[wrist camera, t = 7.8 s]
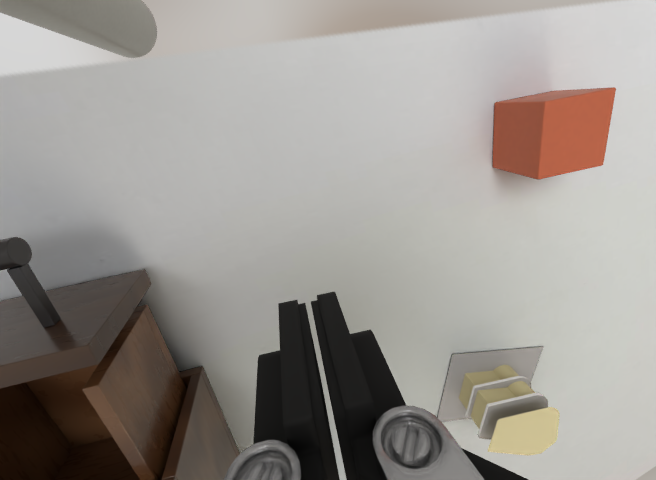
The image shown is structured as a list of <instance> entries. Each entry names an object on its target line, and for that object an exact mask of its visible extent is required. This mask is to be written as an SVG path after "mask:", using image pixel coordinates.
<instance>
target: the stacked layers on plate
mask: <svg viewBox="0 0 656 480" xmlns="http://www.w3.org/2000/svg"><path fill="white" fill-rule="evenodd" d="M542 350H543V347H533V348H521V349H510V350H498V351H486V352H475V353H463V354H452V358H451V362H450V366H449V370H448V375H447V379H446V383H445V388H444V392H443V396H442V400H441V405H440V409H439V413H438V417H437V418H438V419H439V420H440V421H441V422H445V421H453V420H461V419H473V421H474V422H475V424H476V425H477V427H478V428H479V431H478V434H477V435H478V437H479V438H482V439H491V442H490V445H489V448H488V452H497V453H507V454H518V455H534V454H540V453H542V452H543V451H545V450H546V449H547V448H548V447H550V446H551V445H552V444H553V443H555V442H556V440H557V434H558V424H559V411H558V410H557V409H555V408H552V407H548V401H547V399H546V397H545V396H544V395H542V394H540V393H535V392H534V391H533V390H532V389H531V380H532V377H533V375H534V372H535V369H536V366H537V363H538V361H539V358H540V355H541V352H542Z"/></svg>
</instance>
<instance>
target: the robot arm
mask: <svg viewBox="0 0 656 480" xmlns="http://www.w3.org/2000/svg"><path fill="white" fill-rule="evenodd" d="M317 299H318V300H317V301H312V302H311V305H312V310H313V315H314V320H315V325H316V330H317V335H318V340H319V345H320V350H321V356H322V361H323V366H324V371H325V376H326V380H327V385H328V390H329V395H330V400H331V405H332V410H333V415H334V420H335V424H336V429H337V434H338V439H339V444H340V449H341V454H342V459H343V463H344V468H345V473H346V478H347V480H528V479H526V478H524V477H522V476H519V475H517V474H515V473H513V472H511V471H509V470H507V469H505V468H502V467H500V466H498V465H496V464H494V463H492V462H490V461H488V460H485V459H483V458H481V457H479V456H477V455H475V454H473V453H471V452H468V451H466V450H464V449H462V448H461V447H460V446H459V445H458V443H457V442H456V441H455V439H454V438H453V437H452V435H451V434H450V433H449V431H448V430H447V428H446V427H445V426H444V424H443V423H442V422H441V421H440V420H439V419H438V418H437V417H436V416H435V415H433V414H432V413H430V412H428V411H427V410H425V409H422V408H418V407H415V406H406V404H405V402H404V400H403V397H402V395H401V393H400V391H399V389H398V387H397V384H396V382H395V380H394V378H393V376H392V373H391V371H390V369H389V367H388V365H387V362H386V360H385V358H384V356H383V354H382V352H381V349H380V347H379V345H378V343H377V341H376V338H375V336H374V334H373V332H372V331H371V330H367V331H362V332H358V333H354V334H350V333H349V330H348V328H347V325H346V322H345V319H344V316H343V313H342V310H341V308H340V305H339V302H338V299H337V296H336V293H335V292H330V293H326V294H321V295H317ZM279 330H280V351H275V352H271V353H266V354H262V355H259V357H258V370H257V389H256V408H255V427H254V445H252V446H250V447H248V448H247V449H245V450H244V451H243V452H242V453H241V454H240V455H239V456H237V457H236V459H235V460H234V461H233V463H232V464H231V466H230V467H229V468H228V470H227V473H226V475H225V478H224V480H339V475H338V469H337V464H336V458H335V453H334V448H333V442H332V437H331V431H330V426H329V421H328V415H327V410H326V404H325V399H324V394H323V388H322V383H321V378H320V373H319V368H318V363H317V358H316V353H315V349H314V344H313V339H312V334H311V329H310V324H309V320H308V315H307V310H306V305H305V303H303V304H298V302H297V300H293V301H289V302H284V303H279Z"/></svg>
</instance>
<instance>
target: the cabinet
mask: <svg viewBox="0 0 656 480" xmlns="http://www.w3.org/2000/svg"><path fill="white" fill-rule="evenodd" d="M179 373H180V375H181V377H182V380H183V382H184V384H185V386H186V388H187V392H186V396H185V399H184V403H183V406H182V410H181V413H180V417H179V420H178V424H177V427H176V431H175V434H174V438H173V441H172V445H171V448H170V452H169V455H168V459H167V462H166V466H165V469H164V473H163V477H162V480H224V478H225V475H226V473H227V470H228V468H229V467H230V466H231V464H232V463H233V461H234V460H235V459H236V457H237V456H239V455H240V453H239V451H238V448H237V446H236V444H235V441H234V439H233V437H232V434H231V432H230V430H229V427H228V425H227V423H226V420H225V418H224V415H223V413H222V411H221V408H220V406H219V404H218V401H217V399H216V397H215V394H214V392H213V390H212V387H211V385H210V382H209V380H208V378H207V375H206V373H205V371H204V368H203V366H201V367H197V368H193V369H189V370H185V371H181V372H179Z"/></svg>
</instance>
